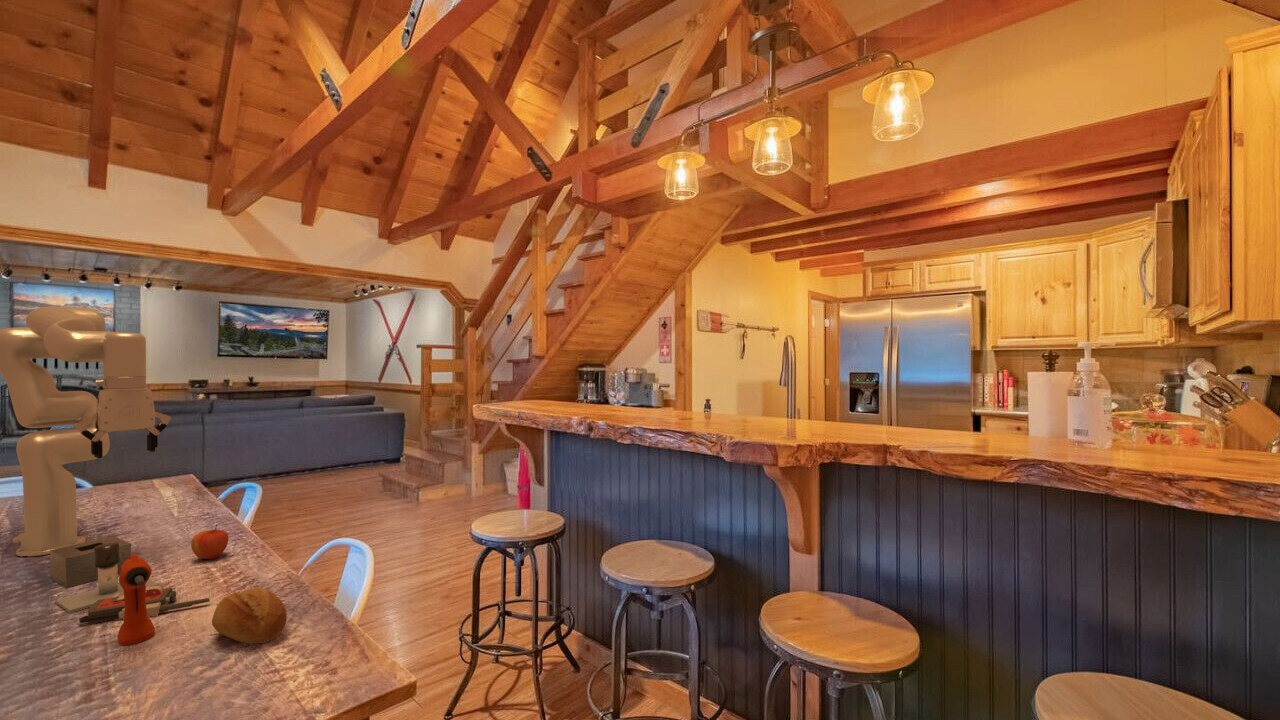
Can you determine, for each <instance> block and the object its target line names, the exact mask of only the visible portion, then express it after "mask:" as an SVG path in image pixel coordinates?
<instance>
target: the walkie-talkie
mask: <svg viewBox="0 0 1280 720" xmlns="http://www.w3.org/2000/svg"><path fill="white" fill-rule="evenodd" d="M119 595H120V593H117V594H115V595H114V596H113V597H112V598H106V599H100V600H98V601H96V602H95V603H94V604H93V605H92V606H91V607H90V608H88V611H87V612H88V613H87V615H84V616H81V618H79V624H83V623H88V624H90V625H93V623H94V624H99V623H98V622H100V623H103V622H102V621H105V622H109V621H108V620H111V621H115V619H116V620H122V619H123V620H122V621H124V612H125V600H124V595H122V596H119ZM176 599H177V592H176V590H173V588H171V587H169V588H167V587H166V588H164V587H163V585H160V584H159V585H156V586H150V587H146V597H145V602H146V608H147V615H148V618H150V617H149V616H155V617H158V616H159V615H160V614H161V613H165V612H168V611H171V610H179V609H183V608H189V607H193V606H194V605H200V604H204V603H210V602H211V601H210V600H211V599H210V598H209V597H206V598H201V599H195V600H189V601H183V602H178V603H173V602H175V601H176ZM171 602H172V603H171ZM170 603H171V604H170ZM159 613H160V614H159ZM158 614H159V615H158ZM157 615H158V616H157ZM121 618H122V619H121ZM113 619H114V620H113Z"/></svg>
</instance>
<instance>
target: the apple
mask: <svg viewBox="0 0 1280 720" xmlns="http://www.w3.org/2000/svg"><path fill="white" fill-rule="evenodd" d="M217 528H218V524H215V528H214V529H209V530H208V529H207V530H204V531H200V532H198V533H196V534H195V535H193V537H192V539H191V545H190V546H191V550H192V552H193V553H194V555H195V556H196V557H197V558H200V559H202V560H214V559H217V558H218V557H219V556H221V555H222V554H223V553H224V552H225V550H226V549H227V547H228V544H229V534H228V533H227V531H225V530H223V529H217Z"/></svg>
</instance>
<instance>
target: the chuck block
mask: <svg viewBox="0 0 1280 720" xmlns="http://www.w3.org/2000/svg"><path fill="white" fill-rule="evenodd" d="M113 542H118V543H119V555H120V562H119V563H117V570H118V575H120V568H121V566H122V564H123V563H124V562H125V561H126V560H127V559H129V558H130V555H132V543H131V542H128V541H126V540H124V539H121V538H119V537H116V536H115V535H113V536H109V537H103V538H99V539H94V540H89V541H85V543H80V544H76V545H71V546H67V547H62V548H58V549H53V550H50V554H49V564H50V579H51V580H53V581H54V582H56V583H58V584H59V585H60V586H62V587H63V588H65V589H68V588H72V587H76V586H80V585H84V584H87V583H91V582H95V581H98V568H96V567H95V556H94V547H96V546H98V545H102V544H106V543H113Z"/></svg>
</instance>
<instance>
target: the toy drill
mask: <svg viewBox="0 0 1280 720" xmlns="http://www.w3.org/2000/svg"><path fill="white" fill-rule="evenodd" d="M152 572H153V571H152V567H151V565H150V564H149V563H148V562H147V561H146V559H144V558H142V557H139V556H138V555H137V553H131V555H130V558H129V559H127V560H126V561H125V562H124V563H123V564H122V566H121V568H120V574H118V583H119V584H120V585H121V587H122V588H123V590H124V600H125V612H124V620H123V623H122V624H121V625H120V627H119V629H118V630H119V631H118V633H117V640H118V641H117V642H118V644H119V645H121V646H130V645H134V644H135V645H136V644H138V643H142V642H144V640H145V641H147V640H149V639H151V638H152V637H154V635H155V632H156V630H155V629H156V628H155V626H154V623H153V621H152V620H151V619H150V617H148V615H147V608H146V602H145V597H146V592H147V591H146V583H147V581H148V580H149V579H150V578H151V576H152Z"/></svg>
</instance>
